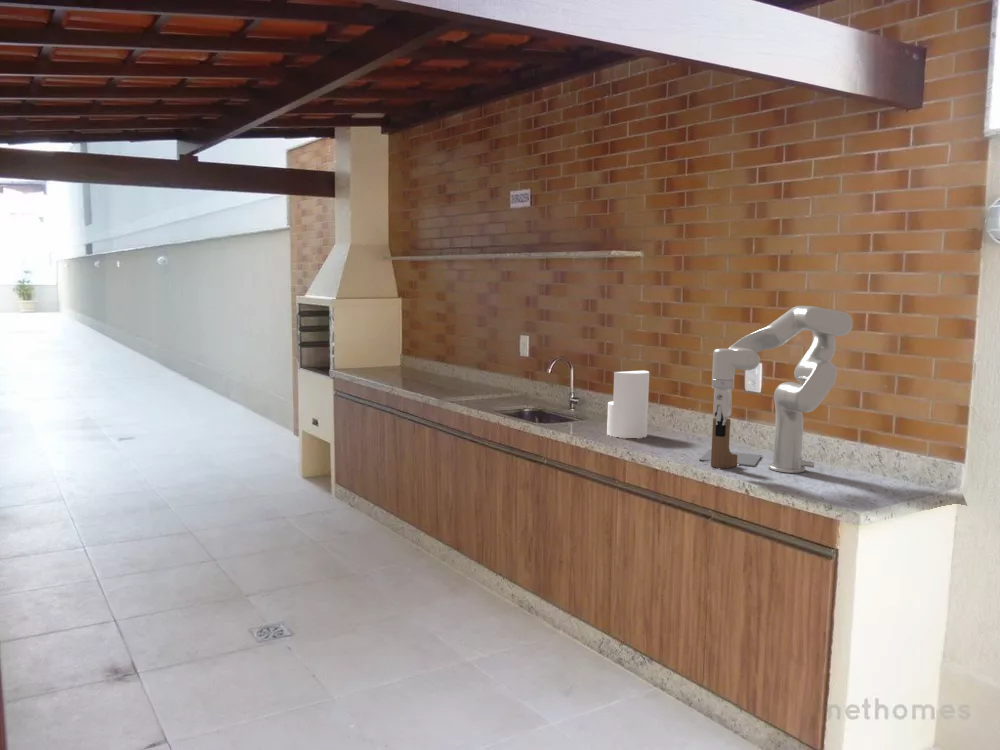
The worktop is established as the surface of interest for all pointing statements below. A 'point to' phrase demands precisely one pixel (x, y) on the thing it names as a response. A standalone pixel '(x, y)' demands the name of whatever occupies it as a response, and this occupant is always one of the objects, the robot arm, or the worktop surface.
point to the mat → (741, 458)
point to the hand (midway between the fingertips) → (720, 436)
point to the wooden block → (722, 449)
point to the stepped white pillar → (629, 405)
